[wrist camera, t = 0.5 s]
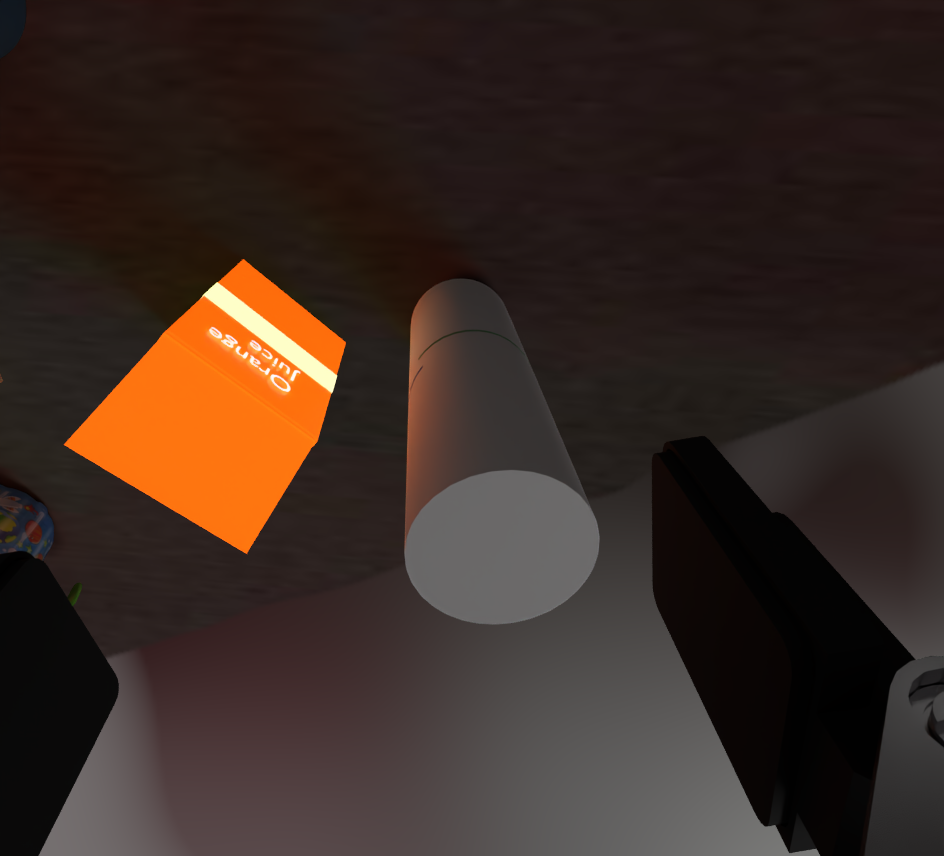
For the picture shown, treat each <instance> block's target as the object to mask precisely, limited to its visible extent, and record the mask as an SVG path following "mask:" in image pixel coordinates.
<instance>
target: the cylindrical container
mask: <svg viewBox="0 0 944 856" xmlns="http://www.w3.org/2000/svg"><path fill="white" fill-rule="evenodd" d="M599 539H600V537H599V532H598V526H597V521H596V519H595V517H594V514H593V512H592V510H591V507H590V505H589V502H588V500H587V498H586V495H585V493H584V491H583V488H582V486H581V483H580V481H579V479H578V476H577V474H576V472H575V469H574V467H573V465H572V462H571V460H570V458H569V455H568V453H567V450H566V448H565V446H564V443H563V441H562V439H561V436H560V434H559V432H558V429H557V427H556V424H555V422H554V420H553V417H552V415H551V413H550V410H549V408H548V406H547V403H546V401H545V398H544V396H543V394H542V391H541V389H540V387H539V384H538V382H537V380H536V377H535V375H534V373H533V370H532V368H531V366H530V363H529V361H528V358H527V356H526V354H525V351H524V349H523V347H522V344H521V342H520V340H519V337H518V335H517V333H516V330H515V328H514V326H513V323H512V321H511V319H510V316H509V314H508V312H507V309H506V307H505V305H504V303H503V301H502V300H501V298H500V297H499V296H498V295H497V293H495V292H494V291H493V290H492V289H491V288H490V287H488V286H486V285H485V284H483V283H481V282H478V281H475V280H470V279H451V280H448V281H444V282H441V283H439V284H437V285H435V286H433V287H432V288H431V289H430V290H428V291H427V292H426V293H425V294H424V295H423V296H422V297H421V299H420V300H419V301H418V303H417V305H416V307H415V309H414V312H413V315H412V320H411V338H410V374H409V408H408V446H407V482H406V516H405V550H404V554H405V563H406V569H407V572H408V574H409V577H410V580H411V582H412V584H413V585H414V587H415V588H416V589H417V591H418V592H419V594H420V595H421V596H422V597H423V598H424V599H425V600H427V602H429V603H430V604H431V605H432V606H433V607H435V608H436V609H438V610H440V611H442V612H443V613H445V614H447V615H450V616H452V617H455V618H457V619H460V620H463V621H468V622H474V623H479V624H506V623H515V622H519V621H523V620H527V619H531V618H534V617H536V616H539V615H541V614H544V613H546V612H549V611H550V610H552V609H554V608H555V607H557V606H559V605H560V604H562V603H564V602H565V601H566V600H567V599H568V598H570V597H571V596H572V595H573V594H574V593H576V591H577V590H578V589H579V588H580V587H581V586H582V585H583V583H584V582H585V581H586V580H587V578H588V576H589V575H590V573H591V571H592V569H593V568H594V565H595V562H596V559H597V556H598V551H599Z"/></svg>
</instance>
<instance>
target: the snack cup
mask: <svg viewBox="0 0 944 856" xmlns="http://www.w3.org/2000/svg"><path fill="white" fill-rule="evenodd" d="M53 537H54V525H53V522H52V519H51V517H50V516H49V515H48V511H47V508H46V507H45V506H44V505H43V504H42V503H41V502H37V501H35V500H34V499H33V498H32V497H31V496H29V495H28V494H26V493H24V492H21V491H19V490H16V489H13V488H7V487H5V486H3V485H0V554H3V553H8V552H14V551H26V552H28V553H30V554H32V555H33V556H34V558H39V559H40V560H42V561H43V560H44V558H45V556H46V555H47V553H48V551H49V550H50V548H51V546H52V543H53V541H54V539H53ZM81 588H82V584H81V583H77V584H75V585H74V587H73V588H72V590H71V592H70V594H69V595H68V597H67V598H68V600H69V601H70V603H71V604H72V606H74V604H75V602H76V600H77V598H78V596H79V594H80V592H81Z"/></svg>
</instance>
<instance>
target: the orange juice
mask: <svg viewBox="0 0 944 856" xmlns="http://www.w3.org/2000/svg"><path fill="white" fill-rule="evenodd" d="M345 344H346V342H344V341H343V340H342V339H341V338H340V337H338V336H337V335H336V334H335V333H333V332H332V331H331V330H330V329H328V328H327V327H326V326H325V325H324V324H322V323H321V322H320V321H319V320H317V319H316V318H315V317H314V316H312V315H311V314H310V313H309V312H307V311H306V310H305V309H304V308H303V307H301V306H300V305H299V304H298V303H296V302H295V301H294V300H293V299H291V298H290V297H289V296H288V295H287V294H285V293H284V292H283V291H282V290H280V289H279V288H278V287H277V286H275V285H274V284H273V283H272V282H271V281H269V280H268V279H267V278H266V277H264V276H263V275H262V274H261V273H259V272H258V271H257V270H256V269H254V268H253V267H252V266H251V265H250V264H248V263H247V262H246V261H245V260H242V261H241V262H240V263H239V264H238V265H237V266H236V267H234V268H233V269H232V270H231V271H230V272H229V273H228V274H227V275H226V276H225V277H224V278H223V279H222V280H220V281H219V282H217V283H216V284H215V285H214V286H213V287H212V288H210V289H209V290H208V291H207V292H206V293H205V294H204V295H203V296H202V297H201V299H200V300H199V301H198V302H197V303H196V304H194V305H193V306H192V307H191V308H190V309H189V310H188V311H187V312H186V313H185V314H184V315H183V316H181V317H180V318H179V319H178V320H177V321H176V322H175V323H174V324H173V325H172V326H171V327H170V328H169V329H167V330H166V331H165V332H164V333H163V335H162V336H161V337H160V338H159V340H158V341H157V342H156V344H155V345H154V346H153V347H152V348H151V349H150V350H149V351H148V352H147V354H146V355H145V356H144V357H143V358H142V359H141V360H140V361H139V362H138V363H137V365H136V366H135V367H134V368H133V369H132V370H131V371H130V372H129V373H128V375H127V376H126V377H125V378H124V379H123V380H122V381H121V382H120V383H119V384H118V386H117V387H116V388H115V389H114V390H113V391H112V392H111V393H110V394H109V396H108V397H107V398H106V399H105V400H104V401H103V402H102V403H101V404H100V405H99V407H98V408H97V409H96V410H95V411H94V412H93V413H92V414H91V415H90V417H89V418H88V419H87V420H86V421H85V422H84V423H83V424H82V425H81V426H80V428H79V429H78V430H77V431H76V432H75V433H74V434H73V435H72V436H71V438H70V439H69V440H68V441H67V442H66V443H65V444H64V445H65V446H67V447H69V448H70V449H72V450H74V451H75V452H77V453H79V454H80V455H82V456H84V457H85V458H87V459H89V460H90V461H92V462H94V463H96V464H97V465H99V466H101V467H102V468H104V469H106V470H107V471H109V472H111V473H112V474H114V475H116V476H117V477H119V478H121V479H122V480H124V481H126V482H127V483H129V484H131V485H132V486H134V487H136V488H137V489H139V490H141V491H142V492H144V493H146V494H147V495H149V496H151V497H152V498H154V499H156V500H157V501H159V502H161V503H163V504H164V505H166V506H168V507H169V508H171V509H173V510H174V511H176V512H178V513H179V514H181V515H183V516H184V517H186V518H188V519H189V520H191V521H193V522H194V523H196V524H198V525H199V526H201V527H203V528H204V529H206V530H208V531H209V532H211V533H213V534H214V535H216V536H218V537H219V538H221V539H223V540H224V541H226V542H228V543H230V544H231V545H233V546H235V547H236V548H238V549H240V550H241V551H243V552H245V553H246V554H247V552H248V550H249V549H250V547H251V545H252V544H253V542H254V540H255V539H256V537H257V535H258V534H259V532H260V531H261V529H262V527H263V526H264V524H265V522H266V521H267V519H268V518H269V516H270V514H271V513H272V511H273V509H274V508H275V506H276V504H277V503H278V501H279V500H280V498H281V496H282V495H283V493H284V491H285V490H286V488H287V487H288V485H289V483H290V482H291V480H292V478H293V477H294V475H295V473H296V472H297V470H298V469H299V467H300V465H301V464H302V462H303V460H304V459H305V457H306V456H307V454H308V452H309V451H310V449H311V448H312V447H313V445H314V444H315V443H316V442H317V440H318V437H319V433H320V430H321V426H322V423H323V419H324V416H325V413H326V409H327V406H328V402H329V399H330V395H331V393H332V392H333V388H334V385H335V381H336V378H337V371H338V368H339V365H340V361H341V358H342V354H343V351H344V347H345Z"/></svg>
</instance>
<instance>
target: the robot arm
mask: <svg viewBox="0 0 944 856" xmlns="http://www.w3.org/2000/svg"><path fill="white" fill-rule="evenodd" d="M652 547H653V548H652V551H653V552H652V553H653V554H652V555H653V556H652V557H653V558H652V564H653V592H654V597H655V601H656V604H657V607H658V610H659V612H660V614H661V616H662V618H663V620H664V622H665V624H666V627H667V629H668V631H669V633H670V635H671V637H672V639H673V641H674V643H675V646H676V648H677V650H678V652H679V654H680V656H681V658H682V660H683V662H684V664H685V667H686V669H687V671H688V673H689V675H690V677H691V679H692V681H693V684H694V686H695V688H696V690H697V692H698V694H699V696H700V698H701V700H702V702H703V705H704V707H705V709H706V711H707V713H708V715H709V717H710V719H711V721H712V724H713V726H714V728H715V730H716V732H717V734H718V736H719V738H720V740H721V742H722V745H723V747H724V749H725V751H726V753H727V755H728V757H729V759H730V761H731V763H732V766H733V768H734V770H735V772H736V774H737V776H738V778H739V780H740V783H741V785H742V787H743V789H744V791H745V793H746V795H747V797H748V799H749V802H750V804H751V806H752V808H753V810H754V812H755V814H756V816H757V818H758V819H759V820H760V822H761V823H762V824H763V825H764V826H772V825H776V827H777V829H778V831H779V833H780V835H781V837H782V839H783V841H784V843H785V845H786V847H787V849H788V851H789V853H793V852H799V851H805V850H811V849H817V850H818V852H819V854H820V856H944V656H929V657H925V658H921V659H917V660H915V659H914V657H913V656H912V655H911V654H910V653H909V652H908V651H907V649H906V648H905V647H904V646H903V645H902V644H901V643H900V642H899V640H898V639H897V638H896V637H895V636H894V635H893V634H892V633H891V631H890V630H888V628H887V627H886V626H885V625H884V624H883V623H882V621H881V620H880V619H879V618H878V617H877V616H876V615H875V614H874V612H873V611H872V610H871V609H870V608H869V607H868V606H867V605H866V604H865V602H863V600H862V599H861V598H860V597H859V596H858V595H857V593H855V591H854V590H853V589H852V588H851V587H850V586H849V584H848V583H847V582H846V581H845V580H844V579H843V578H842V577H841V575H840V574H839V573H838V572H837V571H836V570H835V569H834V568H833V566H832V565H831V564H830V563H829V562H828V561H827V560H826V559H825V558H824V557H823V555H822V554H821V553H820V552H819V551H818V550H817V549H816V547H815V546H814V545H813V544H812V543H811V542H810V541H809V540H808V538H807V537H806V536H805V535H804V534H803V533H802V532H801V531H800V530H799V528H798V527H797V526H796V525H795V524H794V523H793V522H792V521H791V520H790V519H789V518H788V517H786V516H785V515H784V514H781V513H778V512H775V513H772V512H771V511H770V510H769V509H768V508H767V507H766V505H765V504H764V503H763V502H762V501H761V500H760V498H759V497H758V496H757V495H756V494H755V493H754V491H753V490H752V489H751V488H750V487H749V486H748V485H747V483H746V482H745V481H744V480H743V479H742V477H741V476H740V475H739V474H738V473H737V472H736V471H735V469H734V468H733V467H732V466H731V465H730V464H729V462H728V461H727V460H726V459H725V458H724V457H723V455H722V454H721V453H720V452H719V451H718V450H717V448H716V447H715V446H714V445H713V444H712V443H711V442H710V440H709V439H708V438H706V437H705V436H699V437H693V438H687V439H681V440H675V441H669V442H666V443H665V444H664V447H663V452H661V453H655V454H654V455H653V458H652ZM118 691H119V684H118V679H117V677H116V674H115V673H114V671H113V669H112V668H111V666H110V665H109V663H108V662H107V660H106V658H105V657H104V655H103V654H102V652H101V650H100V649H99V647H98V646H97V644H96V642H95V641H94V639H93V638H92V636H91V635H90V633H89V631H88V630H87V628H86V627H85V625H84V623H83V622H82V620H81V619H80V617H79V616H78V614H77V612H76V611H75V609H74V608H73V606H72V604H71V603H70V601H69V600H68V598H67V597H66V595H65V593H64V592H63V590H62V589H61V587H60V585H59V584H58V582H57V581H56V579H55V578H54V576H53V574H52V573H51V571H50V570H49V568H48V566H47V565H46V564H45V563H44V561H42V560H40V559H39V558H34V556H33V555H32V554H30V553H28V552H26V551H14V552H8V553H3V554H0V856H38V855H39V854H40V851H41V850H42V848H43V846H44V844H45V841H46V840H47V838H48V836H49V834H50V832H51V829H52V828H53V826H54V824H55V822H56V820H57V818H58V816H59V814H60V812H61V810H62V808H63V806H64V804H65V802H66V799H67V798H68V796H69V794H70V792H71V790H72V788H73V786H74V784H75V782H76V780H77V778H78V776H79V774H80V772H81V770H82V768H83V766H84V764H85V762H86V760H87V758H88V756H89V754H90V752H91V750H92V748H93V746H94V744H95V742H96V740H97V738H98V736H99V734H100V732H101V730H102V728H103V726H104V723H105V722H106V720H107V718H108V716H109V714H110V712H111V710H112V708H113V706H114V704H115V702H116V699H117V697H118Z"/></svg>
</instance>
